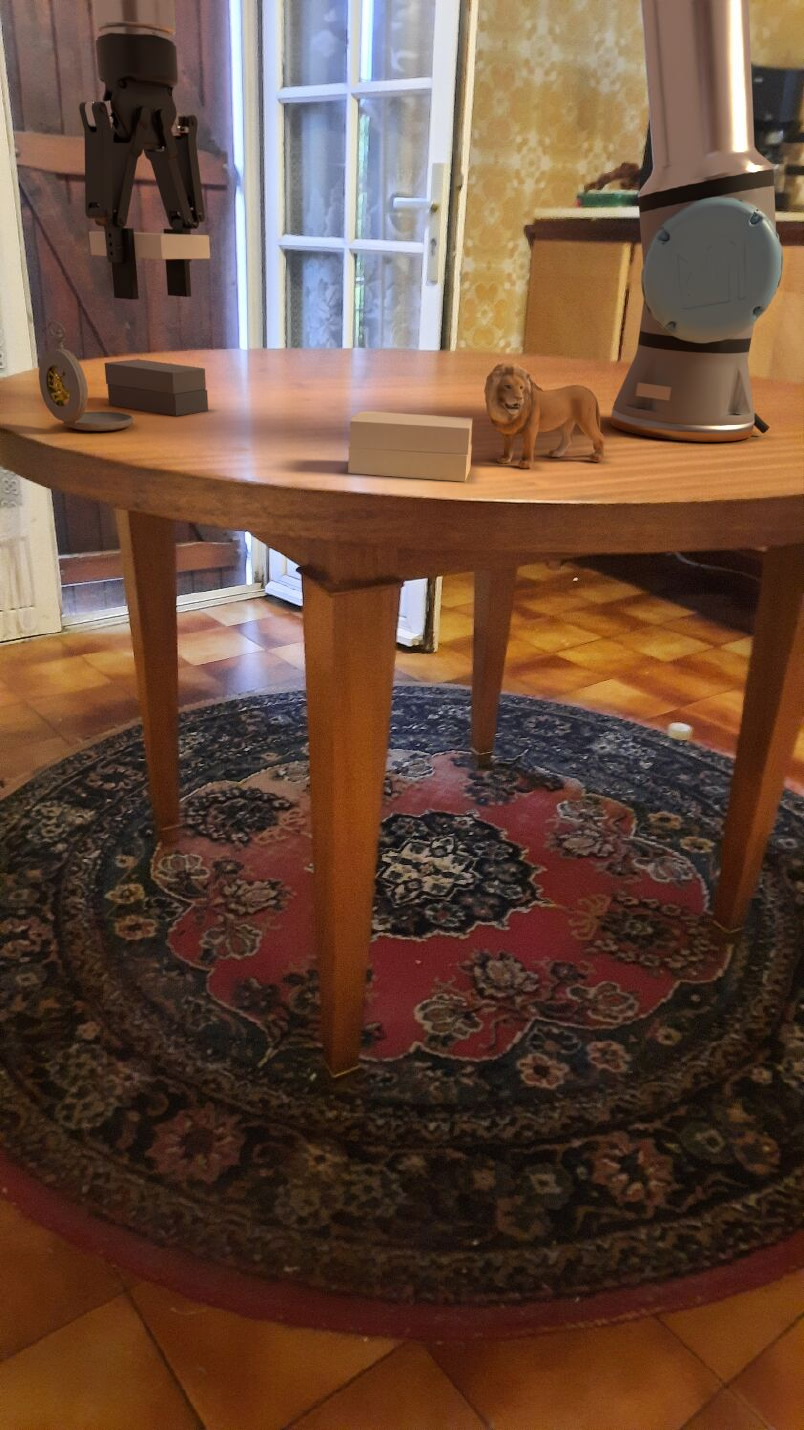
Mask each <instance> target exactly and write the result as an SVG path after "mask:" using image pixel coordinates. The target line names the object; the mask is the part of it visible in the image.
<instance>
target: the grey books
mask: <svg viewBox="0 0 804 1430" xmlns="http://www.w3.org/2000/svg"><path fill="white" fill-rule="evenodd" d="M104 375H105V384H106V385H107V395H108V397H107V398H108V405H109V406H114V407H119V408H126V409H132V410H138V411H144V412H149V413H154V414H155V413H156V414H162V415H167V416H168V415H169V416H173V417H180V416H185V415H191V414H198V413H202V412H208V411H209V400H208V399H209V397H208V389H207V384H206V383H207V381H206V368H204V367H196V366H189V365H183V364H175V363H168V362H160V361H154V360H153V361H152V360H146V359H139V358H136V359H127V360H117V361H109V362H104Z"/></svg>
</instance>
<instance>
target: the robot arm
mask: <svg viewBox="0 0 804 1430" xmlns="http://www.w3.org/2000/svg"><path fill="white" fill-rule="evenodd" d="M749 1H750V0H640V8H641V21H642V34H643V35H642V36H643V47H644V48H643V49H644V61H645V75H646V87H647V88H646V89H647V90H646V91H647V102H648V103H647V104H648V116H649V130H650V131H649V132H650V141H651V142H650V143H651V144H650V145H651V155H652V170H651V174H650V176H649V177H648V178H647V180H646V182H644V184H643V185H642V187H641V188H640V189H639V191H638V192H637V199H638V213H639V216H638V217H639V227H640V228H639V229H640V241H641V253H642V255H641V256H642V269H641V273H640V274H641V275H640V283H641V292H642V298H643V301H642V309H641V319H640V324H639V333H638V340H637V347H636V348H637V349H636V351H635V356H634V357H633V360H632V362H631V364H630V366H629V369H628V371H627V374H626V376H625V378H624V380H623V382H622V384H621V387H620V389H619V390H618V393H617V395H616V398H615V401H614V403H613V406H612V408H611V417H610V425H612V427H614V428H616V429H618V430H621V431H623V432H627V433H631V434H635V435H640V436H645V437H651V438H658V439H666V440H676V441H685V442H686V441H687V442H734V441H741V440H746V439H749V438H750V437H752V435H753V432H754V427H755V428H756V429H757V430H758V431H760V432H761V434H763V435H764V434H765V433H766V432H767V431H768V430H769V429H770V426H769V425H768V424H767V423H766V422H765V421H764V420H763V419H762V418H761V417H760V416H759V414H758V413H757V412H755V407H754V398H753V391H752V383H751V376H750V368H749V355H750V349H751V344H752V339H753V333H754V327H755V323H756V322H757V320H758V319H759V318H760V317H761V316H762V315H763V314H764V313H765V312H766V311H767V309H769V306H770V304H771V303H772V302H773V299H774V297H775V296H776V294H777V291H778V288H779V287H780V283H781V280H782V275H783V270H784V269H783V268H784V252H783V251H784V250H783V246H782V245H781V242H780V235H779V234H778V232H777V222H776V199H775V198H776V196H775V167H774V164H772V162H770V161H769V160H768V159H767V158H765V156H763V155H762V154H761V153H760V152H758V150H757V148H756V147H755V130H754V128H755V127H754V106H753V105H754V104H753V103H754V102H753V81H752V78H753V77H752V54H751V53H752V52H751V32H750V31H751V27H750V26H751V25H750V4H749ZM91 2H92V13H93V26H94V28H95V29H96V30H97V31H98V32H100V33H101V35H99V36H97V38H96V40H95V41H94V42H95V54H96V66H97V76H98V80H99V81H100V82H101V83H103V84H104V92H103V95H102V100H99V101H81V102H80V104H79V106H78V109H79V114H80V118H81V123H82V127H83V131H84V133H83V134H84V211H85V215H86V218H88V219H90V220H94V222H95V224H96V226H97V227H101V228H102V227H103V230H104V232H105V241H106V250H107V251H106V253H107V256H106V258H107V261H108V263H110V264H111V272H112V273H111V275H112V289H113V298H114V299H123V300H139V299H140V297H139V285H138V283H139V281H138V272H137V271H138V270H137V258H136V257H135V244H134V232H135V230H134V229H135V228H133V227H127V223H128V217H129V210H130V205H131V199H132V194H133V189H134V188H133V187H134V183H135V182H134V181H135V177H136V170H137V164H138V160H139V158H140V157H141V156H142V155H143V154H144V156H145V158H146V159H147V160H148V161H149V162H150V165H151V168H152V171H153V175H154V178H155V181H156V185H157V188H158V192H159V195H160V198H161V201H162V204H163V205H162V206H163V208H164V211H165V214H166V215H165V216H166V218H167V222H168V225H169V226H170V228H163V233H164V234H187V235H192V233H191V232H192V231H191V230H197V229H199V226H200V223H203V222H204V221H205V218H206V215H205V206H204V198H203V197H204V196H203V189H202V188H203V187H202V180H201V174H200V173H201V172H200V163H199V155H198V147H197V134H198V123H199V122H198V119H197V117H196V116H195V115H194V114H184V113H182V112H179V111H178V110H177V106H176V103H175V101H174V97H173V90H174V88H175V87H176V86H177V85H178V83H179V71H178V68H179V67H178V53H177V45H175V43H174V41H172V40H171V38H172V37H173V36H175V34H176V32H177V29H176V28H177V26H176V13H175V0H91ZM164 261H165V273H166V275H165V276H166V286H167V287H166V288H167V290H166V291H167V296H171V297H182V298H183V297H184V298H190V297H191V298H192V285H191V283H192V282H191V267H190V266H191V265H190V264H191V262H192V259H164Z"/></svg>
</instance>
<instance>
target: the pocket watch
mask: <svg viewBox="0 0 804 1430" xmlns="http://www.w3.org/2000/svg"><path fill="white" fill-rule="evenodd" d="M52 324H55V325H57V326H58V327H59V328H60V329H56V331H55V333H56V334H55V333H54V331H53V330H52V328H51V326H52ZM47 329H48V332H49V333H50V334H51V336H53V339H54V340H55V342H57V345H56V347H55V348H52V349H50V350H47V351H46V352H45V353H44V354H43V357H42V358H41V359H40V363H39V368H38V382H39V389H40V393H41V396H42V399H43V402H44V404H45V406H46V408H47V410H48V411H49V412H50V413H51V414H52V415H53V417H54V418H56V419H57V420H58V421H60V422H62V423H63V425H64V427H65V426H66V427H68V428H71V429H74V430H76V431H77V430H79V431H90V432H100V431H101V432H102V431H103V432H104V431H105V432H106V431H109V432H110V431H111V432H112V431H113V432H114V431H116V430H121V429H125V428H128V427H130V426H132V425H133V423H134V417H133V416H132V415H131V414H128V413H125V412H118V411H104V410H103V411H102V410H101V411H100V410H99V411H86V410H87V405H88V400H89V399H88V394H89V393H88V384H87V379H86V376H85V373H84V370H83V368H82V366H81V363H80V362H79V360H78V358H76V356H75V355H74V354H73V353H72V352H71V351H70V350H68V349H67V348H64V345H63V343H64V342H65V340H66V337H67V332H66V329H65V327H64V326H63V325H62V324H61V323H60V322H58V321H56V320H49V321H48V323H47ZM62 333H63V334H62ZM66 400H67V403H65V401H66Z"/></svg>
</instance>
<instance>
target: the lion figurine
mask: <svg viewBox="0 0 804 1430" xmlns="http://www.w3.org/2000/svg"><path fill="white" fill-rule="evenodd" d="M483 392H484V397H485V399H484V400H485V405H486V412H487V413H488V417H489V421H490V423H491V425H493V427H494V429H495V430H496V431H498V432H501V435H502V437H501V438H502V447H503V454H501V455H499V456H497V459H496V461H497V463H500V464H509V463H510V462H511V461H512V458H513V455H514V452H515V449H514V444H515V437H516V436H517V435H519V434H521V437H522V441H523V449H522V455H521V459H520V461H518V468H520V469H527V470H528V469H531V468H533V465H534V448H535V443H536V439H537V436H538V433H546V432H550V431H554V430H556V429H557V428H559V429H560V433H561V440H560V443H559V445H558V446H557V448H554V449H549V451H548V456H549V457H552V458H561V457H563V455H564V454H565V452H566V451H567V449H568V448H569V447H570V446H571V445H572V444H573V441H574V438H573V437H574V436H573V432H574V429H575V426H578V427H579V429H580V430H581V432H582V433H583V434H584V436H586V437H587V439H589V440H590V441H592V446H593V450H594V452H592V453H590V455H589V460H590V461H591V462H596V463H597V462H598V463H599V462H602V461H603V460H604V454H605V453H604V452H605V437H604V434H603V433H602V432H601V413H600V406H599V402H598V400H597V396H596V395H595V394H594V392H593V391H592V390H591V389H589V388H588V387H587V386H584V385H579V384H571V385H566V386H563V387H560V388H556V389H550V390H543V388H541V387H540V386H538V385H537V384H536V382H534V381H533V380H532V378H531V373H530V372H529V371H527V370H526V369H525V368H523V367H521V366H520V365H519V364H518V363H516V362H513V361H509V362H508V361H507V362H502V363H498V364H497V365H495V366H494V368H493V369H492V371H491V372H490V373H489V374H488V375H487V376H486V379H485V384H484V390H483Z"/></svg>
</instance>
